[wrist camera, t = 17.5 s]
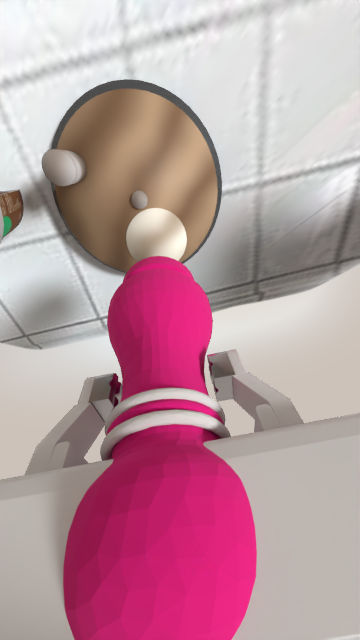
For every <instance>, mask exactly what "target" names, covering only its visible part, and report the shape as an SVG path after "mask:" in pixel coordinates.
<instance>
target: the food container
mask: <svg viewBox="0 0 360 640" xmlns="http://www.w3.org/2000/svg"><path fill="white" fill-rule="evenodd" d="M22 216H23V200H22V196H21V193H20V190H12V191H0V242H1V240H2V237H3V236H5V235H6V234H8V233H9V232H10V231H12V230H13V229H14V228H16V227H17V226H18V225H19V223H20V221H21V219H22Z"/></svg>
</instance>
